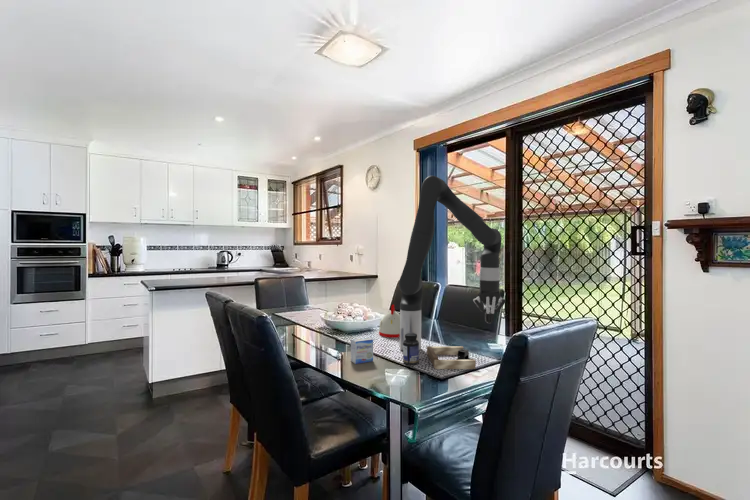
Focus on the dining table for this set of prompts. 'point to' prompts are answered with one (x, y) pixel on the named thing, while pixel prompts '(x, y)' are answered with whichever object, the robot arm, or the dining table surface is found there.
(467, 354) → the black angular block
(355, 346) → the medicine box
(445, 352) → the frame
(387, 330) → the kitchen timer
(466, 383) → the dining table surface
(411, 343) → the pill bottle
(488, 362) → the dining table surface
